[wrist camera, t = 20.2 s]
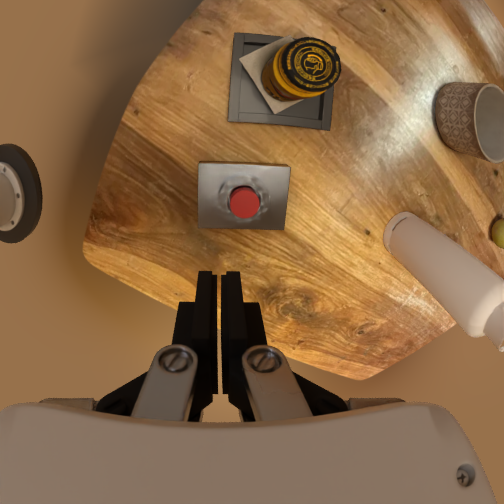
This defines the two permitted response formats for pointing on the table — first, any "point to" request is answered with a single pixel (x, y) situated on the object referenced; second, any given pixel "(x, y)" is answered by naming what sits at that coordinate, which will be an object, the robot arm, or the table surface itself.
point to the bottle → (449, 275)
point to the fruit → (498, 233)
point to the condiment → (293, 70)
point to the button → (244, 202)
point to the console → (236, 176)
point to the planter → (472, 119)
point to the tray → (253, 102)
